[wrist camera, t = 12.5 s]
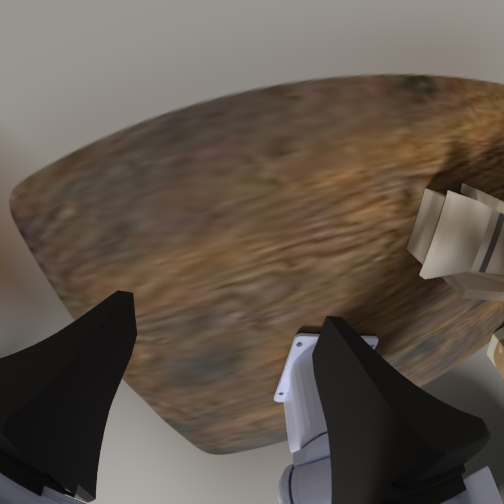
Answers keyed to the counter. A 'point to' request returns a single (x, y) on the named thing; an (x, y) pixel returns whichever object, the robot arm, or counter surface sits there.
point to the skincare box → (497, 350)
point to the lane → (461, 241)
